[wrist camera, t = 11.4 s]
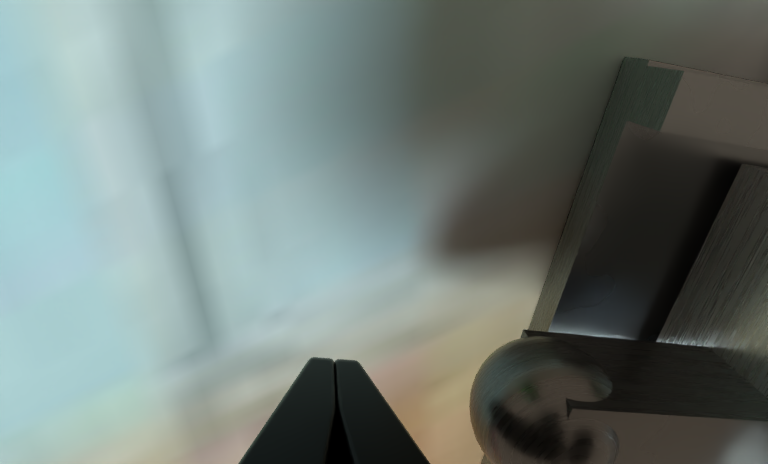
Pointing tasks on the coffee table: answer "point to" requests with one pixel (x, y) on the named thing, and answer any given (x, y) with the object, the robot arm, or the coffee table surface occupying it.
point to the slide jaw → (648, 368)
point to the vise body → (650, 197)
